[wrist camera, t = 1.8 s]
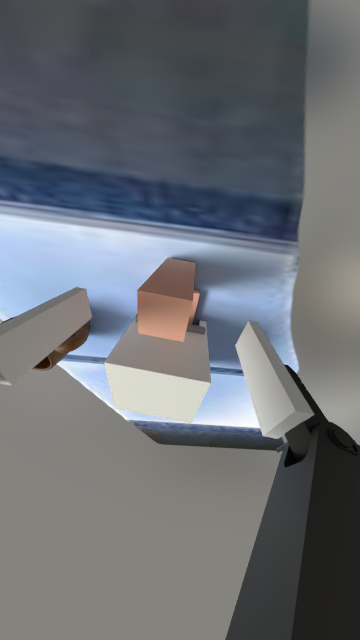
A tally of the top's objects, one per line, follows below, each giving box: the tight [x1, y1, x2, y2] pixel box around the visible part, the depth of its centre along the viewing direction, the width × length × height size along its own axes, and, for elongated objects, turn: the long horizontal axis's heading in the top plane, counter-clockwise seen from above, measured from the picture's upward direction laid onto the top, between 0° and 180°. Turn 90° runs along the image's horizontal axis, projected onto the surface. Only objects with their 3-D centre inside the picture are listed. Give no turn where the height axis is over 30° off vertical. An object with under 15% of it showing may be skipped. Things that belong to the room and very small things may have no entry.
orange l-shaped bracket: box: [137, 258, 200, 342], centre depth 20 cm, size 18×7×12 cm, turn 171°
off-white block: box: [104, 314, 211, 423], centre depth 23 cm, size 12×12×12 cm
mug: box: [32, 322, 90, 370], centre depth 25 cm, size 12×8×9 cm, turn 103°
